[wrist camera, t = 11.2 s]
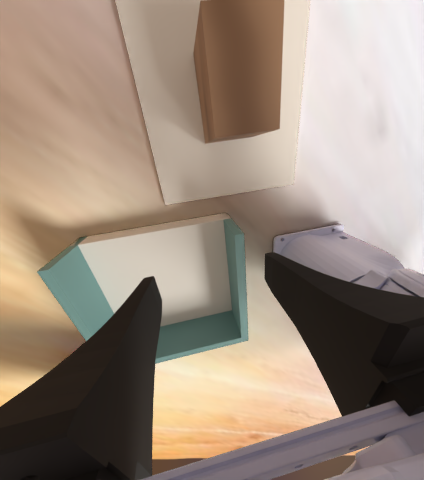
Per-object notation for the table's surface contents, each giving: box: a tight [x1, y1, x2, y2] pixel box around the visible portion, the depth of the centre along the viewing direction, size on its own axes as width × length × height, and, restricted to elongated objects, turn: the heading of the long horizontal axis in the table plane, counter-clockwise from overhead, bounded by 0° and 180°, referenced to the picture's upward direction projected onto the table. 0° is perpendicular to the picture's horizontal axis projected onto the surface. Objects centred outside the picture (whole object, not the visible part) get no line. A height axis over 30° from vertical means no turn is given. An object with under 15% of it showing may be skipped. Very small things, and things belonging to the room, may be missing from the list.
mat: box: [115, 0, 310, 205], centre depth 15 cm, size 14×16×1 cm
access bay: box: [37, 213, 248, 364], centre depth 19 cm, size 16×14×6 cm
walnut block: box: [193, 0, 284, 144], centre depth 12 cm, size 4×6×5 cm
